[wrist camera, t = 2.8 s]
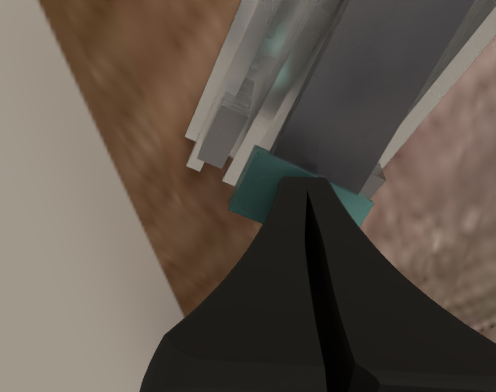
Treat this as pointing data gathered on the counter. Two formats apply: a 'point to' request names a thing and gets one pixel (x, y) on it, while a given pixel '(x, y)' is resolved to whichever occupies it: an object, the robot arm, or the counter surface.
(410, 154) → the counter surface
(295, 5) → the heat sink
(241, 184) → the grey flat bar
